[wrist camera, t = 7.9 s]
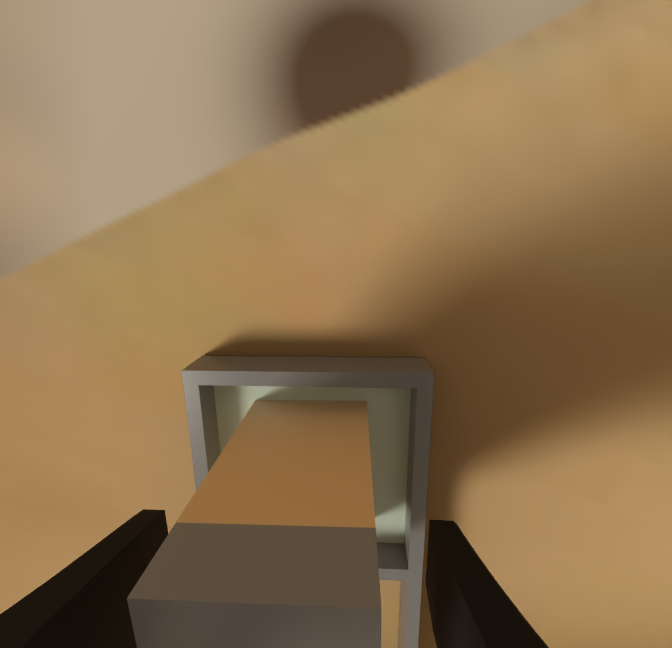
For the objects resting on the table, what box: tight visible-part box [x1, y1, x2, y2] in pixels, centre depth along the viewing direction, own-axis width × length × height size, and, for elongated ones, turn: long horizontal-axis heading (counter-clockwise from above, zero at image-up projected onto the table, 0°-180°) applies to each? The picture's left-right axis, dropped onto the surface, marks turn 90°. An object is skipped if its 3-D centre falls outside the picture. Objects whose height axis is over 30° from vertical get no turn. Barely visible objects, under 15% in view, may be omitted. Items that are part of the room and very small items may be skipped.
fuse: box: [127, 400, 381, 648], centre depth 9 cm, size 5×4×7 cm
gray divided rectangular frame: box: [182, 356, 434, 648], centre depth 13 cm, size 16×8×2 cm, turn 0°
